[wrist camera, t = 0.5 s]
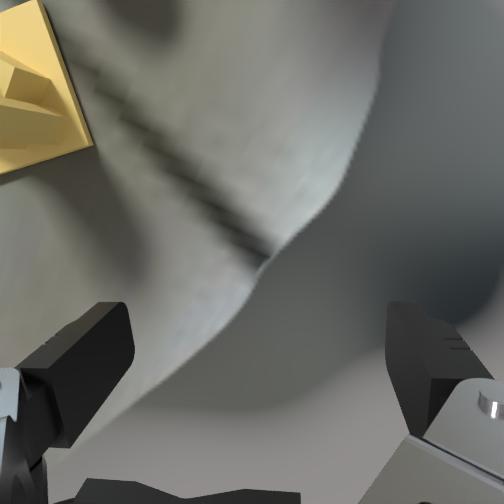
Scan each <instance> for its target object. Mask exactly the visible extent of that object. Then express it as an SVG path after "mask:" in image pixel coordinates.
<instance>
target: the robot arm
mask: <svg viewBox="0 0 504 504" xmlns="http://www.w3.org/2000/svg"><path fill="white" fill-rule="evenodd" d="M134 354H135V346H134V340H133V335H132V329H131V324H130V319H129V313H128V309H127V306H126V304H125V303H123V302H99V303H97V304H96V305H94V306H93V307H92V308H91V309H90V310H88V311H87V312H86V313H85V314H84V315H82V316H81V317H80V318H79V319H78V320H76V321H74V322H72V323H70V324H68V325H66V326H65V327H64V328H62V329H61V330H60V331H59V332H57V333H56V334H55V337H51V338H50V339H49V340H48V341H46V342H45V345H42V346H40V347H39V348H38V349H37V350H35V351H34V352H33V353H32V354H31V355H29V356H28V357H27V358H26V359H24V360H23V361H22V362H21V363H20V364H18V365H17V366H16V367H15V368H0V504H48V480H47V462H46V458H45V455H44V453H45V451H46V450H47V449H48V448H49V447H53V448H71V446H72V445H73V444H74V442H75V441H76V439H77V438H78V437H79V435H80V434H81V433H82V431H83V430H84V429H85V427H86V426H87V425H88V423H89V422H90V420H91V419H92V418H93V416H94V415H95V414H96V412H97V411H98V410H99V408H100V407H101V405H102V404H103V403H104V401H105V400H106V399H107V397H108V396H109V395H110V393H111V392H112V391H113V389H114V388H115V386H116V385H117V384H118V382H119V381H120V380H121V378H122V377H123V376H124V374H125V373H126V371H127V370H128V369H129V367H130V366H131V364H132V362H133V359H134ZM385 359H386V365H387V371H388V374H389V376H390V379H391V382H392V385H393V388H394V390H395V393H396V396H397V399H398V401H399V404H400V407H401V410H402V413H403V416H404V418H405V421H406V424H407V427H408V429H409V432H410V434H408V435H407V436H406V437H405V438H404V440H403V441H402V442H401V444H400V445H399V447H398V448H397V449H396V451H395V452H394V454H393V455H392V457H391V458H390V459H389V461H388V462H387V463H386V465H385V466H384V468H383V469H382V471H381V472H380V473H379V475H378V476H377V477H376V479H375V480H374V482H373V483H372V485H371V486H370V487H369V489H368V490H367V491H366V493H365V494H364V496H363V497H362V498H361V500H360V501H359V503H358V504H504V382H501V381H497V380H495V379H494V378H493V377H492V375H491V374H490V373H489V372H488V370H487V369H486V368H485V366H484V365H483V364H482V363H481V361H480V360H479V359H478V357H477V356H476V355H475V354H474V352H473V351H471V350H470V347H469V346H468V345H467V343H466V342H465V341H463V338H462V337H461V336H460V334H459V333H458V332H457V330H456V329H455V328H454V327H452V326H451V325H450V324H448V323H446V322H445V321H443V320H441V319H440V318H429V317H428V316H427V314H426V313H425V311H424V310H423V308H422V307H421V305H420V304H419V303H418V301H389V302H388V305H387V317H386V339H385ZM54 504H301V495H300V493H296V492H295V493H294V492H281V491H267V490H252V489H241V490H236V491H230V492H224V493H218V494H213V495H207V496H201V497H195V498H188V499H184V498H179V497H177V496H174V495H171V494H168V493H166V492H163V491H160V490H158V489H155V488H152V487H149V486H147V485H144V484H141V483H138V482H135V481H120V480H105V479H90V478H87V479H86V480H85V482H84V484H83V485H82V487H81V489H80V490H79V492H78V493H77V495H76V496H75V498H72V499H68V500H64V501H60V502H57V503H54Z"/></svg>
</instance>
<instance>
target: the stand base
mask: <svg viewBox="0 0 504 504" xmlns="http://www.w3.org/2000/svg"><path fill="white" fill-rule="evenodd" d="M90 146H93V142H92V139H91V136H90V134H89V131H88V128H87V125H86V123H85V120H84V117H83V114H82V111H81V109H80V106H79V103H78V100H77V97H76V95H75V92H74V89H73V86H72V84H71V81H70V78H69V75H68V72H67V70H66V67H65V64H64V61H63V58H62V56H61V53H60V50H59V47H58V44H57V42H56V39H55V36H54V33H53V31H52V28H51V25H50V22H49V19H48V17H47V14H46V11H45V8H44V5H43V3H42V2H40V1H39V0H31V1H29V2H26V3H24V4H21V5H19V6H16V7H14V8H11V9H8V10H6V11H3V12H1V13H0V175H1V174H4V173H8V172H11V171H14V170H17V169H20V168H23V167H27V166H30V165H33V164H36V163H39V162H42V161H45V160H49V159H52V158H55V157H58V156H61V155H64V154H68V153H71V152H74V151H77V150H80V149H83V148H86V147H90Z"/></svg>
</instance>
